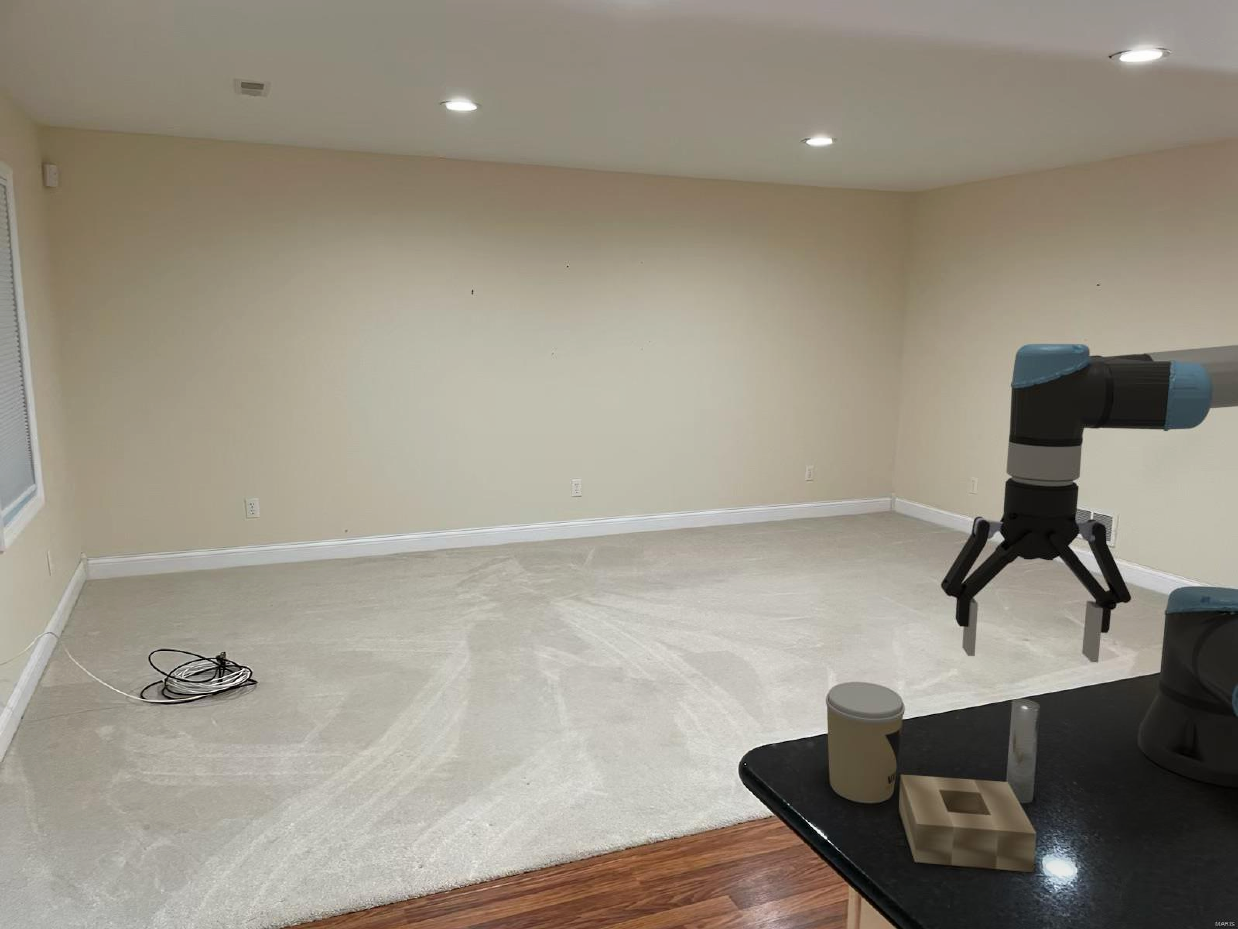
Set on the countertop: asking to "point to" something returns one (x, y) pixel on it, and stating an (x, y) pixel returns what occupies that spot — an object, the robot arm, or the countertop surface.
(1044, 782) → the countertop surface
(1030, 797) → the peg
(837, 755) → the coffee cup
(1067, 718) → the countertop surface
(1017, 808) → the hole block
